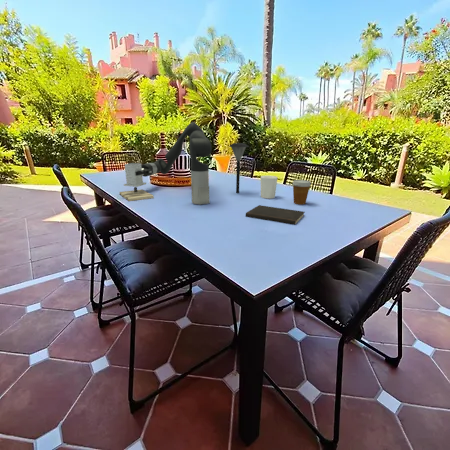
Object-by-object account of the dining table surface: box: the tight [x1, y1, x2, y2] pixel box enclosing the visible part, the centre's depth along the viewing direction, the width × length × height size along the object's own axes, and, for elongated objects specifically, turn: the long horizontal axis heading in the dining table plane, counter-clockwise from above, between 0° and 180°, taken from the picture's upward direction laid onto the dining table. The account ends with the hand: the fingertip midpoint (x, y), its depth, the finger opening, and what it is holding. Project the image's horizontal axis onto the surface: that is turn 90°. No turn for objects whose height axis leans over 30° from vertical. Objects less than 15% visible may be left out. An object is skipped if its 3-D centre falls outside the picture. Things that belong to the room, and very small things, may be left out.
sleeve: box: [123, 162, 147, 188], centre depth 156 cm, size 9×9×12 cm
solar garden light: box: [228, 142, 250, 194], centre depth 165 cm, size 12×12×30 cm
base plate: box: [119, 187, 155, 202], centre depth 159 cm, size 20×14×6 cm
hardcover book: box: [245, 204, 306, 226], centre depth 125 cm, size 16×23×2 cm
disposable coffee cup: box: [292, 179, 312, 206], centre depth 146 cm, size 10×10×12 cm
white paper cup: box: [260, 175, 278, 200], centre depth 159 cm, size 10×10×12 cm
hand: (131, 173), depth 153 cm, fingers closed on sleeve, 6 cm apart
